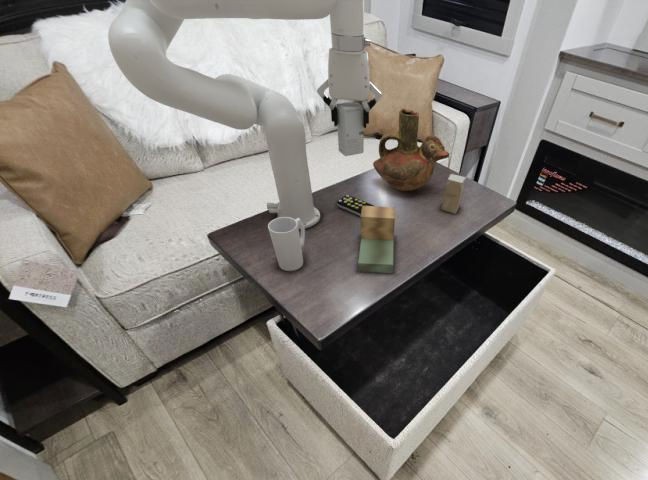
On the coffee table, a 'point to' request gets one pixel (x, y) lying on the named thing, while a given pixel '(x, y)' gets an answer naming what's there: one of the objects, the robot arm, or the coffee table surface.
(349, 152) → the white medicine box
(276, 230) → the mug
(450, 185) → the box
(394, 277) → the coffee table surface
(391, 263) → the wood and green block
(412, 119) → the ceramic vessel
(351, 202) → the remote control
